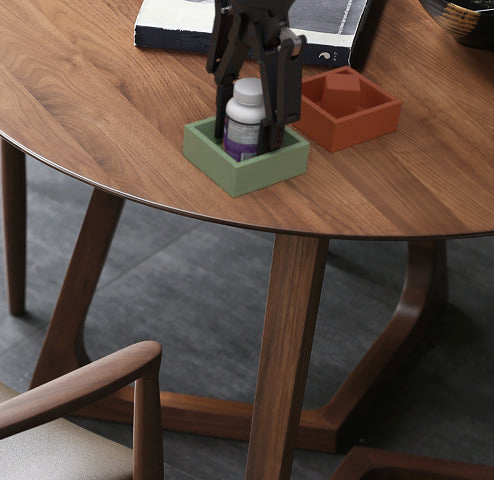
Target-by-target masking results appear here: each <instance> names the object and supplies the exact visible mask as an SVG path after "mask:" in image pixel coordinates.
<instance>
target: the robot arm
mask: <svg viewBox="0 0 494 480" xmlns="http://www.w3.org/2000/svg"><path fill="white" fill-rule="evenodd" d="M213 1H214V19H213V23H212V31H211V35H210V41H209V47H208V52H207V56H206V57H207V58H206V63H205V71H206V73H207V74H208V75H212V76H213V81H214V84H215V85H216V91H215V92H216V93H215V107H216V112H215V116H216V123H215V135H214V137H215V138H216V139H218V140H219V139H222V138H224V127H225V115H226V106H227V103H228V102H229V100H230V99H232V98H233V92H234V85H235V83H236V82H235V81H238V80H240V79H242V77H241V75H240V73H241V70H242V68H243V65H244V64H245V62H246V59H247V56H248V54H249V52H250V51H251V48H252V52H253V58H254V59H253V60H254V61H255V63H257V64H258V67H259V76H260V79H261V84H262V92H263V99H264V107H265V115H266V118H265V119H262V120H260V128H259V137H258V146H257V154H256V157H257V156H260V155H263V154H266V153H269V152H273V151H276V150H279V149H280V147H281V146H282V144H283V138H284V131H285V126H286V125H287V126H289V125H292V123H295V122H298V121H300V119H301V95H302V79H303V67H304V66H303V65H304V64H303V63H304V54H305V51H306V48H307V44H308V38H307V36H306V35H305V34H303V33H302V34H298V35H296V33H294V31H293V30H291V28H290V27H291V23H290V22H291V21H290V18H289V11H290V9H291V7H293V5H294V3H295V2H296V1H297V0H213ZM273 49H274V50H273ZM269 50H271V51H269Z"/></svg>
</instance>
